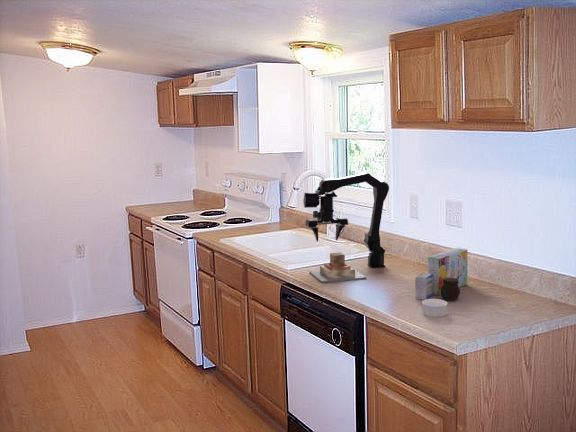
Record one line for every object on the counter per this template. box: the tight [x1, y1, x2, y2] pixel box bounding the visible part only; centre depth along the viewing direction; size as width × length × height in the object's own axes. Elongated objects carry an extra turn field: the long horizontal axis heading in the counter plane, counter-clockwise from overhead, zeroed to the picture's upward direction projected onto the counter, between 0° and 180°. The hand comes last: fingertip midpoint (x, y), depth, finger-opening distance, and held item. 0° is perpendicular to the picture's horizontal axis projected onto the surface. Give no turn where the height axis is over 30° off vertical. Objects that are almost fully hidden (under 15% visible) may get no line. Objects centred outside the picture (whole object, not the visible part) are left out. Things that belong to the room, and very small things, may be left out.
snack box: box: [427, 247, 468, 296], centre depth 260 cm, size 21×6×15 cm, turn 134°
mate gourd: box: [440, 274, 462, 302], centre depth 246 cm, size 7×8×10 cm
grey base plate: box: [308, 269, 367, 284], centre depth 284 cm, size 20×18×1 cm
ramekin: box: [421, 298, 448, 318], centre depth 230 cm, size 9×9×4 cm
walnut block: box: [329, 252, 346, 267], centre depth 283 cm, size 5×5×6 cm
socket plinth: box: [319, 262, 356, 279], centre depth 284 cm, size 12×12×4 cm
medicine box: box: [414, 272, 434, 301], centre depth 250 cm, size 8×4×9 cm, turn 148°
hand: (326, 240), depth 296 cm, fingers open, 9 cm apart
